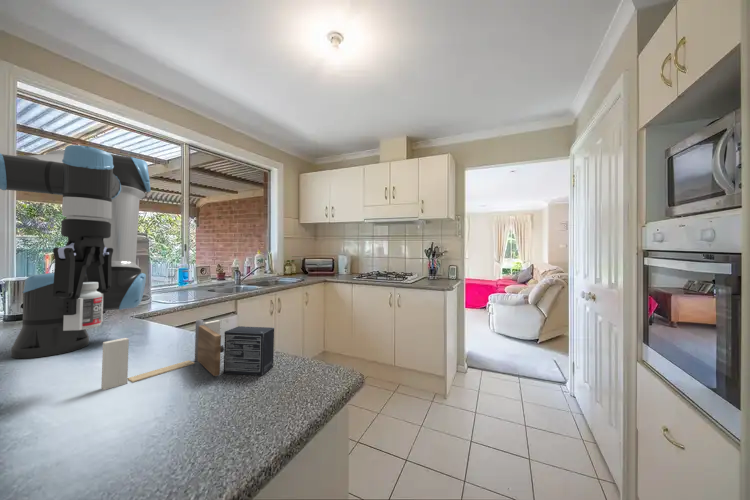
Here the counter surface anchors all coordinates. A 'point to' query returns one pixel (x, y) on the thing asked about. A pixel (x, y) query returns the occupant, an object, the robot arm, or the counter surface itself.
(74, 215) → the robot arm
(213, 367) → the door
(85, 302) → the pill bottle
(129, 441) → the counter surface
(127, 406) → the counter surface
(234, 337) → the small box
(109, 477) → the counter surface
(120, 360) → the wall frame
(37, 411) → the counter surface
